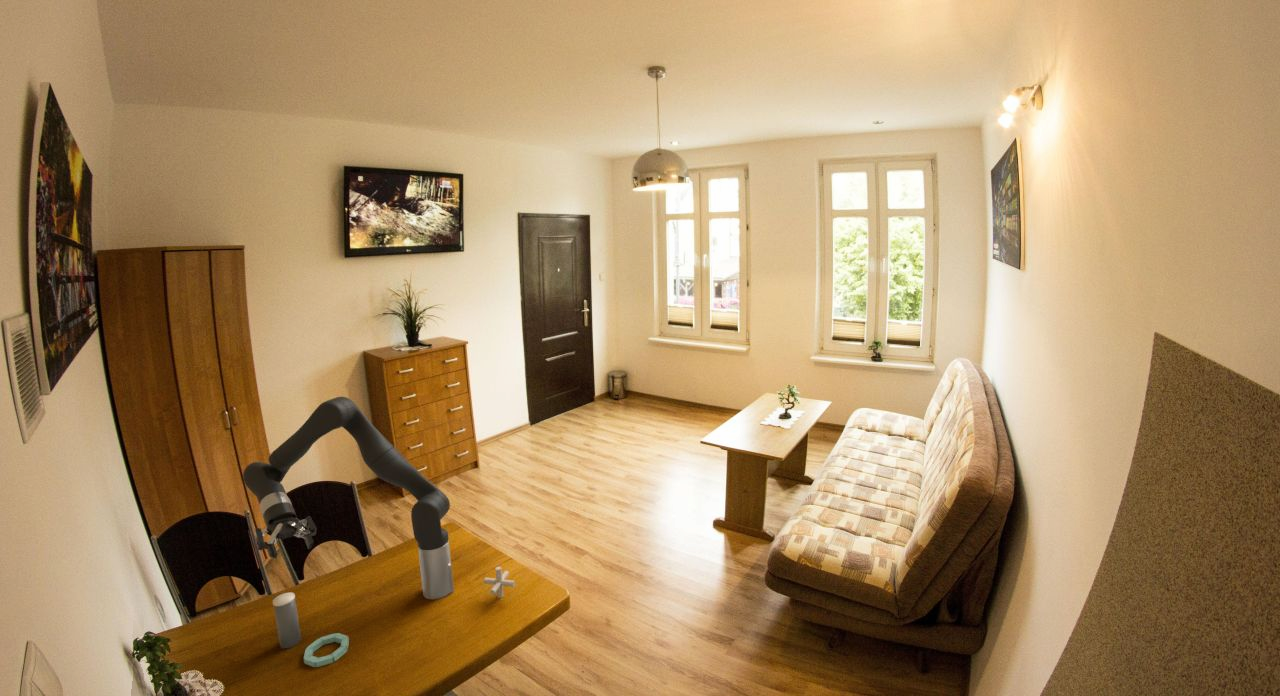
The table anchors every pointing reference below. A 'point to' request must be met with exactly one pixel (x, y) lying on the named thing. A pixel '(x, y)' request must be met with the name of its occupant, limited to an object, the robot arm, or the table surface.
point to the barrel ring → (327, 659)
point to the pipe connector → (499, 582)
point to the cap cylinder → (287, 620)
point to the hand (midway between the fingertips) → (293, 551)
